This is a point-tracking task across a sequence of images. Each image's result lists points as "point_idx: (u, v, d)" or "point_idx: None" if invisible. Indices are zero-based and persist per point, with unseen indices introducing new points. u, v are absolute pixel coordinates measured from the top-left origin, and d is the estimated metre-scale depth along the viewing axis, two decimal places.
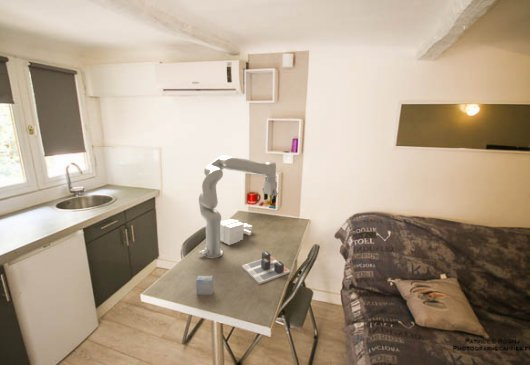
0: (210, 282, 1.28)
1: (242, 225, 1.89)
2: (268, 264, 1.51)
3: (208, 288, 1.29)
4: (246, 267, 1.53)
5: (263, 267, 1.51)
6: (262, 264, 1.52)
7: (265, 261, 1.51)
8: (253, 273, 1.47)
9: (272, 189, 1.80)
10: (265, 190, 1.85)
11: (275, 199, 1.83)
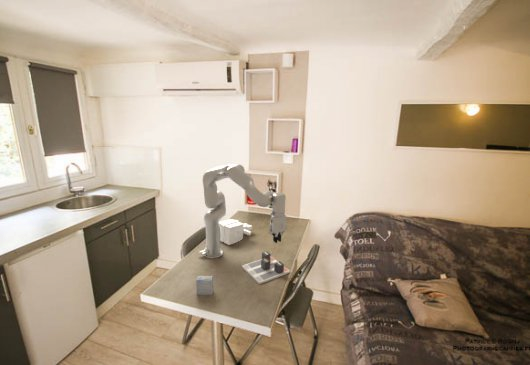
0: (210, 282, 1.28)
1: (242, 225, 1.88)
2: (268, 264, 1.51)
3: (208, 288, 1.29)
4: (246, 267, 1.53)
5: (263, 267, 1.51)
6: (262, 264, 1.52)
7: (265, 261, 1.51)
8: (253, 273, 1.47)
9: None
10: (278, 229, 1.49)
11: None
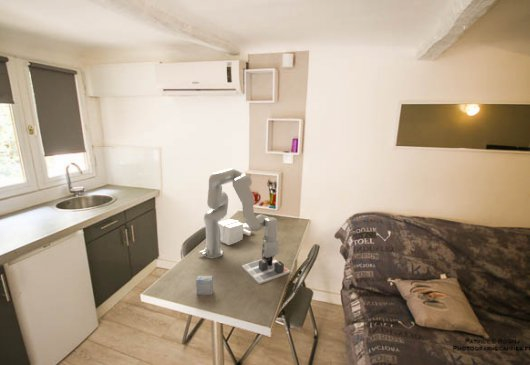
0: (210, 282, 1.28)
1: (242, 225, 1.88)
2: (266, 265, 1.50)
3: (208, 288, 1.29)
4: (246, 267, 1.53)
5: (261, 268, 1.50)
6: (260, 265, 1.51)
7: (263, 262, 1.50)
8: (253, 273, 1.47)
9: None
10: (270, 253, 1.49)
11: None
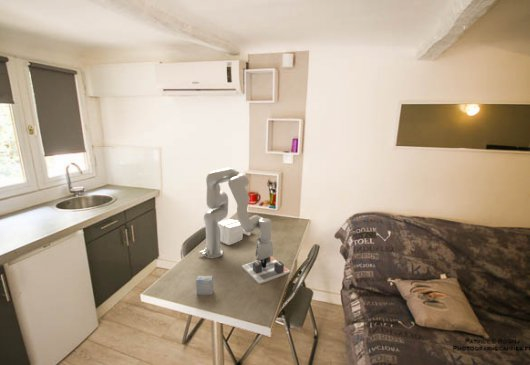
0: (210, 282, 1.28)
1: None
2: (260, 267, 1.48)
3: (208, 288, 1.29)
4: (246, 267, 1.53)
5: (255, 270, 1.48)
6: (254, 267, 1.49)
7: (257, 264, 1.48)
8: (253, 273, 1.47)
9: None
10: (264, 255, 1.47)
11: None
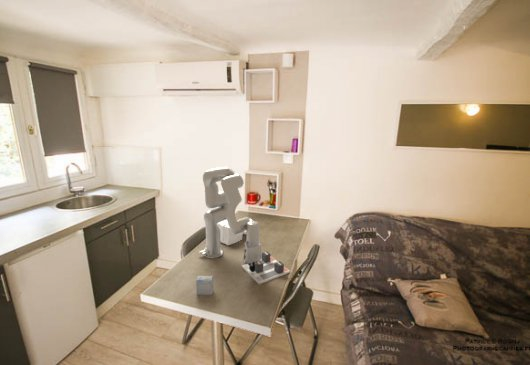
0: (210, 282, 1.28)
1: None
2: (261, 266, 1.49)
3: (208, 288, 1.29)
4: (246, 267, 1.53)
5: (256, 269, 1.49)
6: (255, 266, 1.49)
7: (258, 263, 1.48)
8: (253, 273, 1.47)
9: None
10: (252, 259, 1.42)
11: None
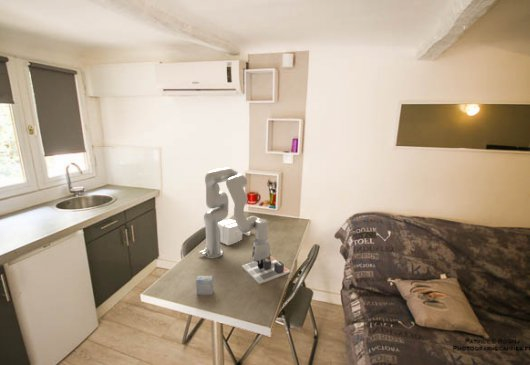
0: (210, 282, 1.28)
1: None
2: (269, 264, 1.52)
3: (208, 288, 1.29)
4: (246, 267, 1.53)
5: (264, 267, 1.52)
6: (263, 264, 1.52)
7: (266, 261, 1.51)
8: (253, 273, 1.47)
9: None
10: (260, 256, 1.45)
11: None
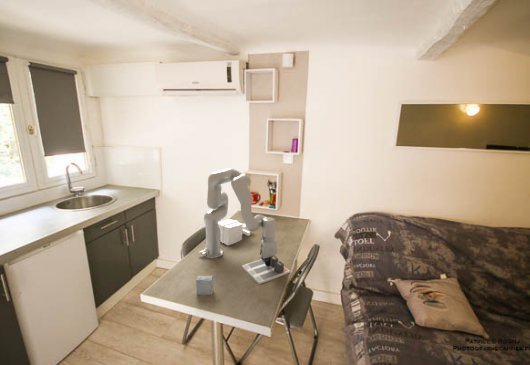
0: (210, 282, 1.28)
1: (241, 225, 1.88)
2: (276, 261, 1.55)
3: (208, 288, 1.29)
4: (246, 267, 1.53)
5: (271, 264, 1.55)
6: None
7: (273, 258, 1.54)
8: (253, 273, 1.47)
9: None
10: (268, 254, 1.48)
11: None
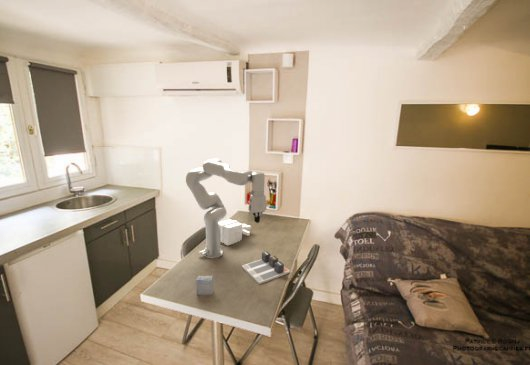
0: (210, 282, 1.28)
1: (241, 225, 1.88)
2: (276, 261, 1.55)
3: (208, 288, 1.29)
4: (246, 267, 1.53)
5: (271, 264, 1.55)
6: (270, 261, 1.55)
7: (273, 258, 1.54)
8: (253, 273, 1.47)
9: None
10: (257, 208, 1.47)
11: None
